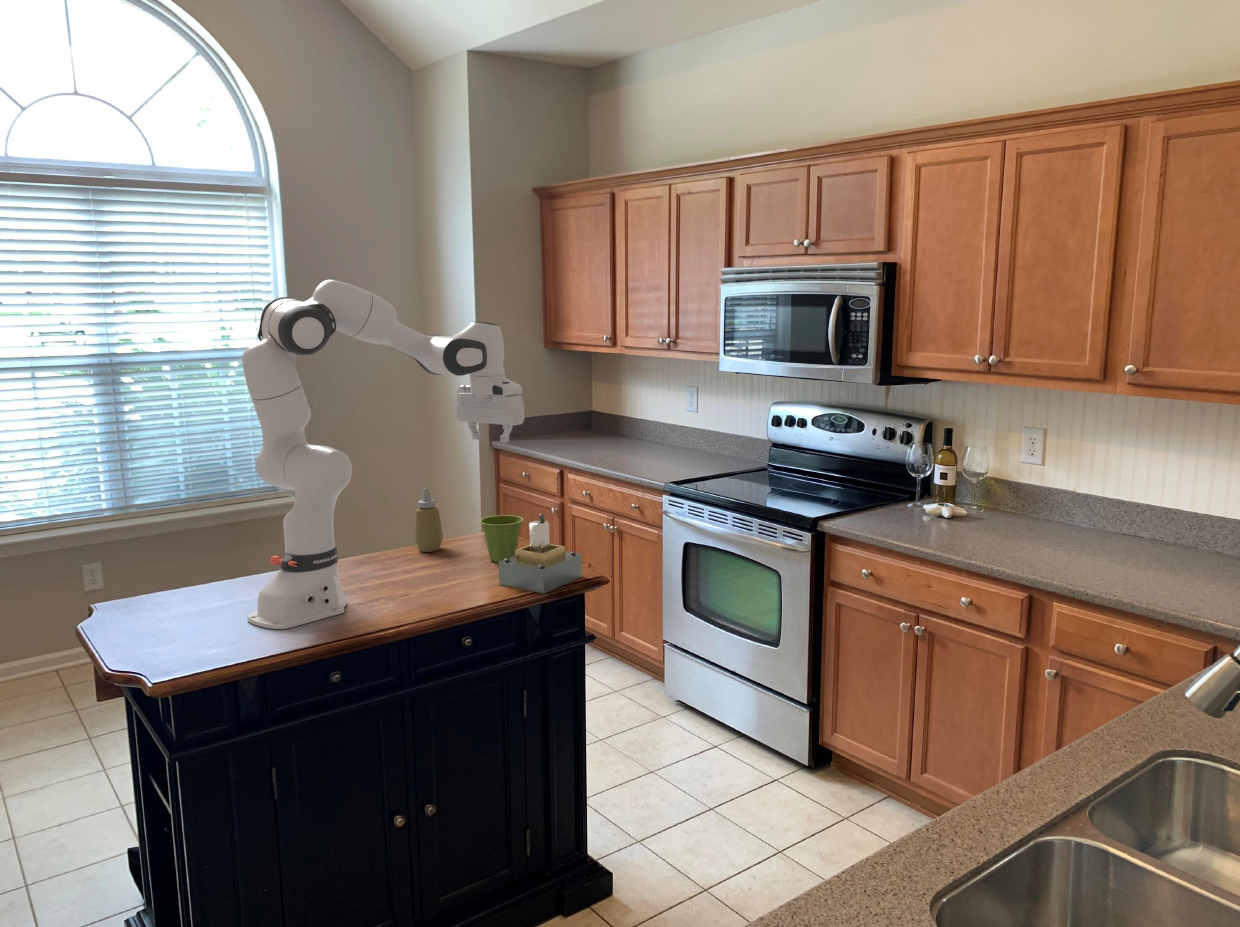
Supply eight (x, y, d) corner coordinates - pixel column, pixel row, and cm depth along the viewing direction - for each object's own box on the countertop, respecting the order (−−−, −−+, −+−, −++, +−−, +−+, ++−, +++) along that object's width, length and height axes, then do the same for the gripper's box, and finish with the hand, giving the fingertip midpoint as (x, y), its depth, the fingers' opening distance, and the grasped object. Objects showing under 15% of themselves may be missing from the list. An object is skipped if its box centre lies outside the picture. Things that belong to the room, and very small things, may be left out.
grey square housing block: (543, 593, 231) (542, 559, 229) (499, 584, 239) (498, 552, 237) (582, 576, 244) (581, 544, 243) (539, 568, 252) (537, 537, 250)
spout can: (541, 561, 237) (540, 518, 235) (526, 558, 240) (524, 516, 237) (553, 556, 241) (552, 514, 239) (538, 553, 244) (536, 512, 242)
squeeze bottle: (415, 554, 267) (411, 492, 264) (414, 547, 275) (410, 486, 271) (444, 552, 269) (441, 490, 266) (442, 544, 277) (438, 484, 274)
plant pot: (531, 561, 258) (529, 521, 256) (489, 568, 253) (487, 527, 251) (516, 551, 269) (514, 512, 267) (475, 557, 264) (473, 517, 262)
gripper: (448, 385, 242) (451, 439, 245) (510, 389, 231) (513, 445, 234) (465, 383, 247) (468, 436, 250) (527, 386, 236) (529, 441, 239)
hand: (490, 440), depth 242 cm, fingers open, 8 cm apart
